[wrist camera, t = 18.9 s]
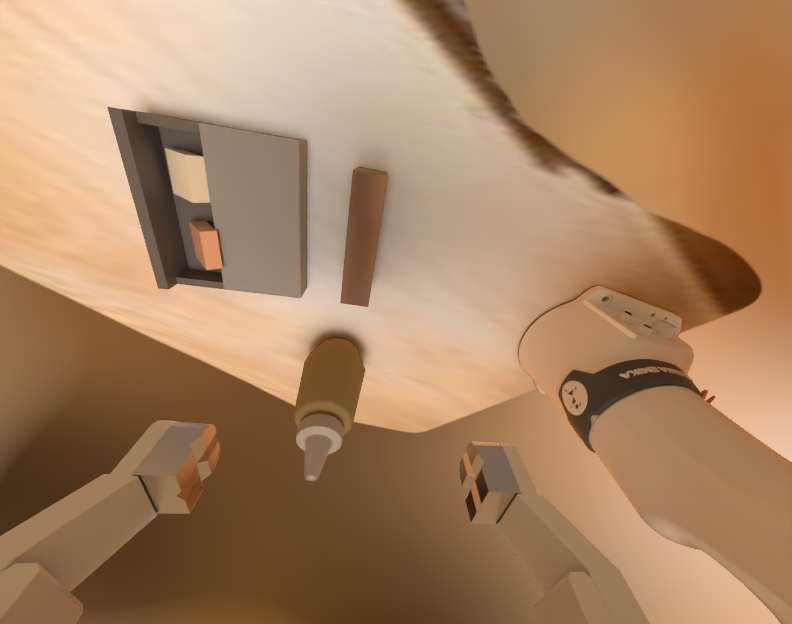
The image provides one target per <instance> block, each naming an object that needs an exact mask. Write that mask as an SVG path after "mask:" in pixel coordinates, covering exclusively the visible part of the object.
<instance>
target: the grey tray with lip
mask: <svg viewBox="0 0 792 624" xmlns="http://www.w3.org/2000/svg"><path fill="white" fill-rule="evenodd" d="M108 111H109V114H110V118H111V121H112V125H113V129H114V132H115V136H116V139H117V143H118V146H119V150H120V153H121V157H122V161H123V164H124V168H125V171H126V175H127V178H128V182H129V186H130V189H131V193H132V196H133V200H134V203H135V207H136V210H137V214H138V218H139V221H140V225H141V228H142V232H143V235H144V239H145V243H146V246H147V250H148V253H149V257H150V260H151V264H152V267H153V271H154V275H155V278H156V282H157V285H158V288H161V289H170V288H171V287H173V286H174V285H176V284H184V285H193V286H202V287H210V288H219V289H227V290H236V291H244V292H253V293H261V294H270V295H278V296H287V297H295V298H301V297H302V295H303V293H304V291H305V290H306V288H307V141H303V140H298V139H292V138H286V137H281V136H275V135H269V134H264V133H258V132H252V131H246V130H241V129H235V128H229V127H224V126H218V125H212V124H207V123H201V122H195V121H190V120H184V119H178V118H173V117H167V116H161V115H156V114H150V113H144V112H137V111H131V110H124V109H117V108H111V107H108ZM165 148H171V149H181V150H185V151H188V152H191V153H194V154H197V155H200V156H203V157H204V162H205V169H206V175H207V182H208V190H209V197H210V203H192V202H190V201H188V200H186V199H184V198H182V197H180V196H178V195H176V194H174V193H173V188H172V183H171V178H170V173H169V168H168V162H167V157H166V152H165ZM189 221H206V222H208V223H209V224H210V225H211V226H212V227H213V228H214V229H215V230H216V231H217V235H218V242H219V248H220V254H221V261H222V267H223V268H219V269H212V270H206V269H205V268H204V266H203V265H202V264H201V263H200V261H199V260H198V259H197V258H196V253H195V248H194V243H193V238H192V233H191V229H190V224H189Z"/></svg>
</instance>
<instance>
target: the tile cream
mask: <svg viewBox="0 0 792 624" xmlns="http://www.w3.org/2000/svg"><path fill="white" fill-rule="evenodd" d="M165 152H166V157H167V162H168V168H169V173H170V178H171V183H172V188H173V193H174V194H176V195H178V196H180V197H182V198H184V199H186V200H188V201H190V202H192V203H210V197H209V190H208V182H207V175H206V169H205V162H204V157H203V156H200V155H197V154H194V153H191V152H188V151H185V150H181V149H171V148H165Z"/></svg>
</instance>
